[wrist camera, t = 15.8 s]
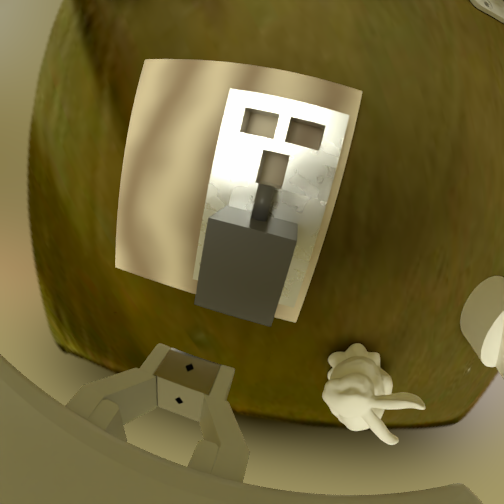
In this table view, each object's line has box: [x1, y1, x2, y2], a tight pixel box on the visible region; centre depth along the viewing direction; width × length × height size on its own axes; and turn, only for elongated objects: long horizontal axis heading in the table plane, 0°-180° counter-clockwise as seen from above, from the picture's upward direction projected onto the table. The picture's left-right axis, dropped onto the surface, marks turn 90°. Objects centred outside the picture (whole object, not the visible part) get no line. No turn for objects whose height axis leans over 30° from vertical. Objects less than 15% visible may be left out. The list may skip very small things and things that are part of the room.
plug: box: [194, 183, 298, 327], centre depth 21 cm, size 6×9×6 cm, turn 167°
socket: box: [193, 89, 349, 308], centre depth 22 cm, size 9×16×2 cm, turn 167°
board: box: [115, 59, 363, 323], centre depth 24 cm, size 20×22×2 cm
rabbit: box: [322, 343, 425, 445], centre depth 24 cm, size 12×9×12 cm
